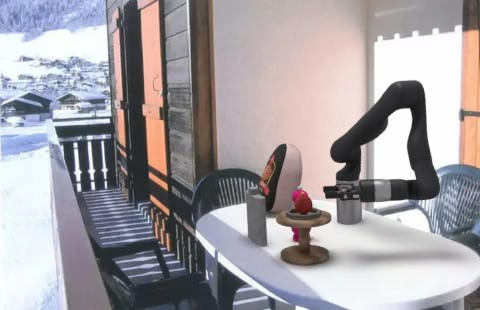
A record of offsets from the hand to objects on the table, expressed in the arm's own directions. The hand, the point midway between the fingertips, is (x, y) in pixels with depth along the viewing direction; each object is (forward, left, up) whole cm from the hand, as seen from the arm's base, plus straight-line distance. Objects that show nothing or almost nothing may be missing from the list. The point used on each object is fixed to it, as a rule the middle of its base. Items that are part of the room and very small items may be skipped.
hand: (324, 192), depth 179 cm
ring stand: (+6, -3, -21) cm, 23 cm away
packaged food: (-17, -58, -22) cm, 65 cm away
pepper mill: (-3, -19, -22) cm, 29 cm away
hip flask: (+11, -28, -22) cm, 37 cm away
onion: (+6, -3, -8) cm, 10 cm away
